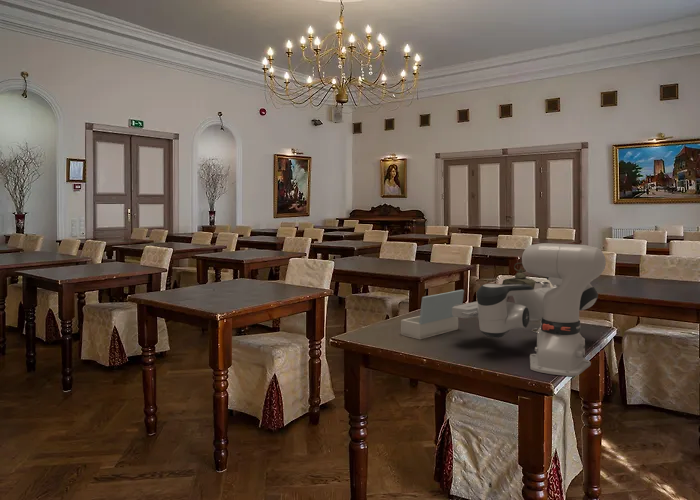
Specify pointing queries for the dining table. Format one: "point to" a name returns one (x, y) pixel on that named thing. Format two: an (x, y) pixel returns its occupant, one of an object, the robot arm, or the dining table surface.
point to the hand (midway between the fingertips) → (457, 306)
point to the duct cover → (439, 306)
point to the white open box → (427, 327)
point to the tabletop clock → (518, 281)
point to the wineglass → (536, 286)
